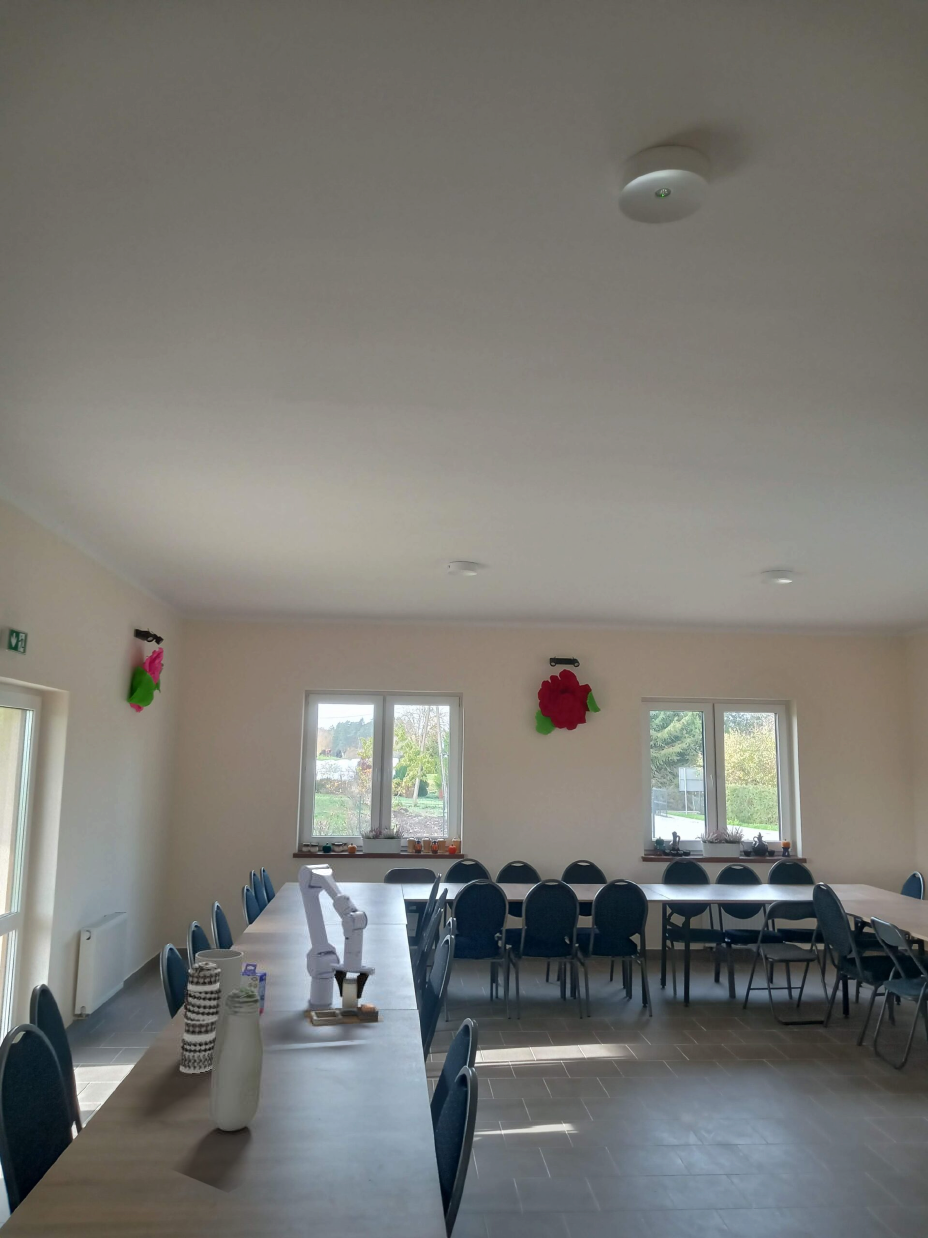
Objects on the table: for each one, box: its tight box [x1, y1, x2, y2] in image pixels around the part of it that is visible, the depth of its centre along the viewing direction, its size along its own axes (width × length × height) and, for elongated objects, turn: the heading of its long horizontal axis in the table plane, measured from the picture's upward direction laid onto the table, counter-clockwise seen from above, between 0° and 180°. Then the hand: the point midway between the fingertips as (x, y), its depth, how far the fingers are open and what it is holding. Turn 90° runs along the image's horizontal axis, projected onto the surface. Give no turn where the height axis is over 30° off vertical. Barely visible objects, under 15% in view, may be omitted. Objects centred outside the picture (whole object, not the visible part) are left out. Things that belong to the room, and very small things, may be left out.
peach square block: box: [360, 1003, 376, 1011], centre depth 260 cm, size 4×4×3 cm
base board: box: [302, 1005, 384, 1027], centre depth 261 cm, size 16×22×4 cm
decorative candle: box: [179, 962, 221, 1075], centre depth 218 cm, size 9×9×25 cm
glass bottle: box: [209, 987, 264, 1132], centre depth 184 cm, size 10×10×28 cm
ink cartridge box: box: [241, 963, 267, 1014], centre depth 264 cm, size 10×6×14 cm, turn 78°
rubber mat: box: [334, 1007, 357, 1016], centre depth 265 cm, size 8×8×1 cm
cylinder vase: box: [194, 948, 244, 1043], centre depth 230 cm, size 12×12×25 cm
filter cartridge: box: [341, 976, 359, 1009], centre depth 266 cm, size 5×5×8 cm
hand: (350, 997), depth 266 cm, fingers closed on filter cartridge, 5 cm apart
